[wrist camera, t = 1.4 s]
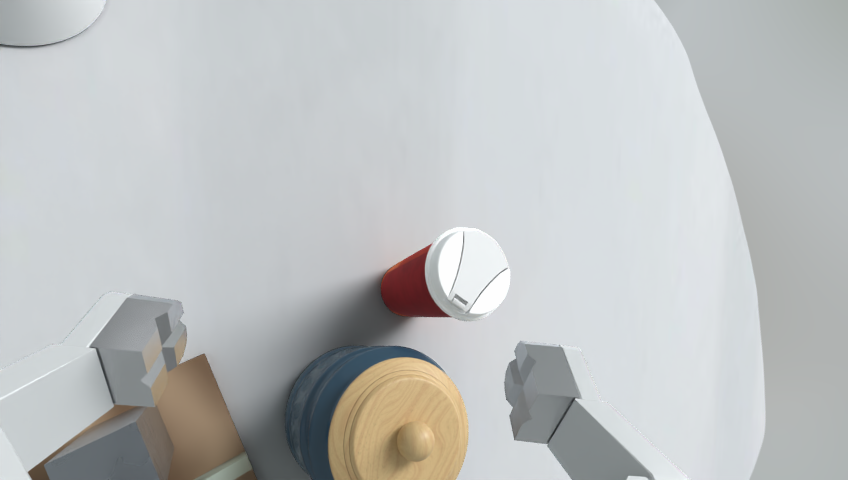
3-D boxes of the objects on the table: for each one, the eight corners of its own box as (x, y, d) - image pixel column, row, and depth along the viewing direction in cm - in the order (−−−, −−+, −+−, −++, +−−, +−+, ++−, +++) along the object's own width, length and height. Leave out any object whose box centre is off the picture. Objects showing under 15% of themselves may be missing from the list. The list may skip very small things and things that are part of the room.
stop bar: (113, 479, 36) (75, 541, 25) (92, 426, 36) (43, 465, 25) (174, 447, 38) (164, 491, 27) (153, 398, 38) (135, 421, 27)
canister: (334, 512, 44) (408, 604, 28) (253, 405, 43) (286, 440, 27) (428, 415, 50) (532, 447, 34) (360, 320, 49) (437, 309, 33)
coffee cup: (416, 340, 51) (492, 339, 38) (356, 300, 49) (415, 283, 36) (448, 279, 54) (529, 258, 41) (394, 238, 52) (461, 203, 39)
